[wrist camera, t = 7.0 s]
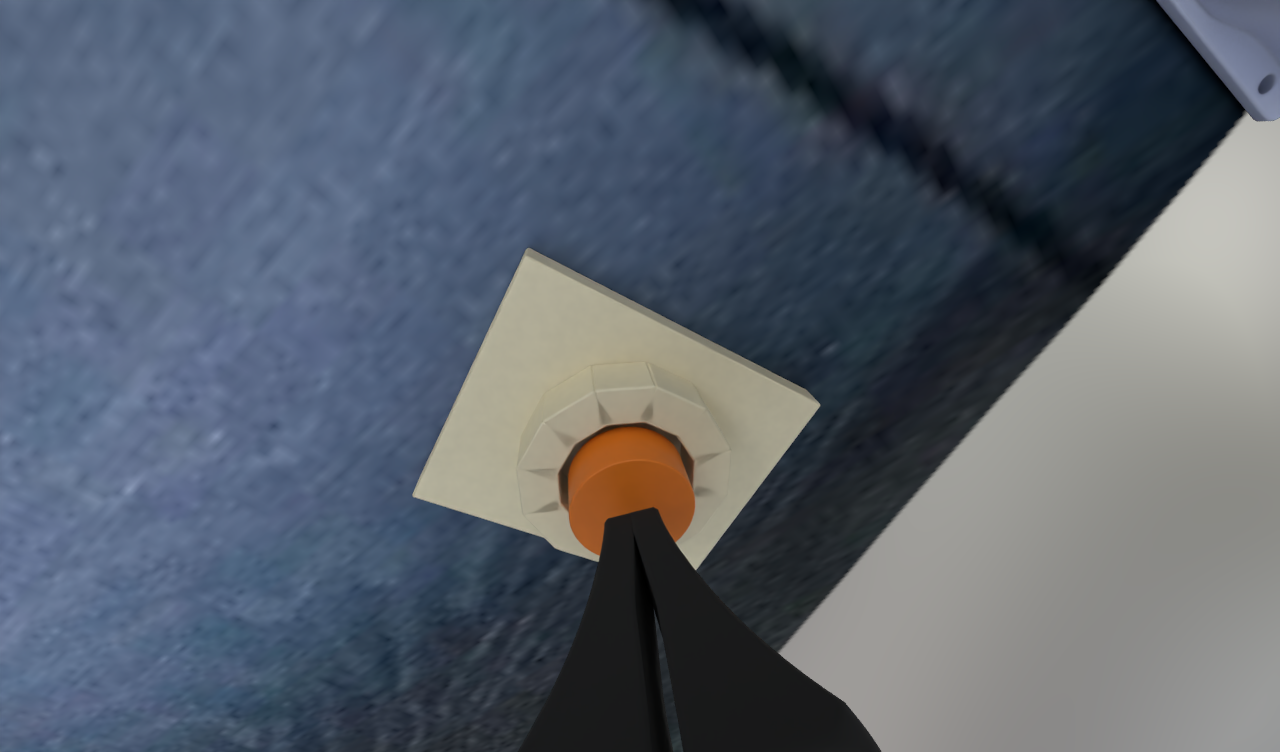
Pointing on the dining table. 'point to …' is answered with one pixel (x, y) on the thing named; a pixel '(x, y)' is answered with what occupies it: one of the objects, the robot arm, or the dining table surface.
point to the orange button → (627, 483)
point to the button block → (603, 408)
